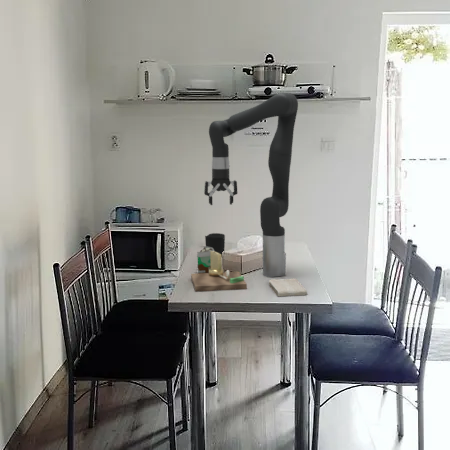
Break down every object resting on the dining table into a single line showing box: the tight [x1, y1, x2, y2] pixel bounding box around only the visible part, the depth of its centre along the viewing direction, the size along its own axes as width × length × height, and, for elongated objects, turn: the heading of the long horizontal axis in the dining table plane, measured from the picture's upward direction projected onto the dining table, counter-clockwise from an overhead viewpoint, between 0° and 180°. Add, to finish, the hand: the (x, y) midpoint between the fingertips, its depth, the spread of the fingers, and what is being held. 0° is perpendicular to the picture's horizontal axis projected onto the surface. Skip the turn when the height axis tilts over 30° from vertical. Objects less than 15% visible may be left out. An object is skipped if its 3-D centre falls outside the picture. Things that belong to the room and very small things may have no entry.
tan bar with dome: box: [209, 251, 230, 281], centre depth 247 cm, size 15×6×9 cm, turn 27°
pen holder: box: [204, 232, 226, 255], centre depth 294 cm, size 9×9×10 cm
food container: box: [196, 245, 214, 274], centre depth 263 cm, size 12×6×10 cm, turn 168°
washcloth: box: [268, 278, 308, 297], centre depth 237 cm, size 12×18×3 cm, turn 9°
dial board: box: [190, 271, 248, 292], centre depth 246 cm, size 20×19×4 cm
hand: (221, 204), depth 267 cm, fingers open, 8 cm apart
